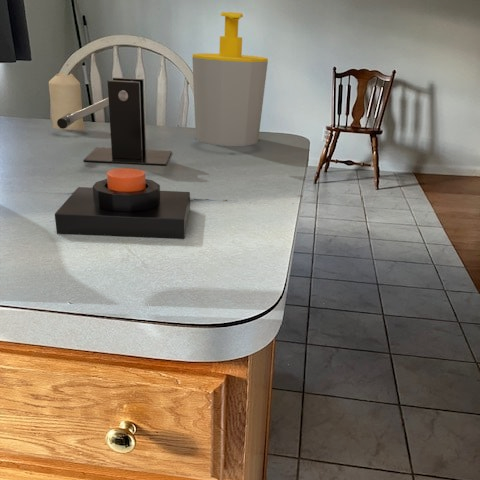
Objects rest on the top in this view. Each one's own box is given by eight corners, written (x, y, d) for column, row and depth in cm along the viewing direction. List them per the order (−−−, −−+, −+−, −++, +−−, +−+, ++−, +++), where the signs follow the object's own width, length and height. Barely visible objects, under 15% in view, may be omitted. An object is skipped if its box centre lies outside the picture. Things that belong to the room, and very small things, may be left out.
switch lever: (62, 133, 79) (53, 117, 78) (70, 127, 83) (62, 112, 82) (136, 99, 77) (128, 82, 76) (141, 95, 81) (134, 79, 80)
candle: (49, 129, 103) (42, 72, 98) (76, 127, 106) (71, 72, 101) (61, 135, 99) (55, 75, 95) (89, 132, 103) (84, 75, 98)
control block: (56, 234, 55) (52, 196, 53) (79, 205, 64) (76, 171, 62) (184, 239, 56) (184, 201, 54) (189, 209, 65) (190, 176, 63)
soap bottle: (196, 151, 93) (197, 9, 83) (187, 136, 104) (188, 10, 94) (269, 152, 96) (280, 15, 85) (253, 137, 107) (261, 14, 96)
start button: (104, 193, 56) (103, 176, 56) (111, 183, 60) (110, 167, 59) (143, 195, 57) (142, 178, 56) (147, 184, 60) (147, 169, 59)
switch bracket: (83, 168, 79) (76, 80, 73) (96, 154, 87) (90, 74, 81) (166, 172, 80) (164, 85, 74) (171, 158, 88) (170, 79, 82)
